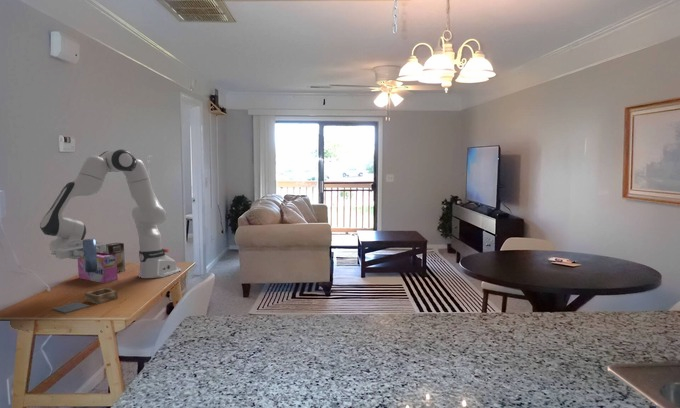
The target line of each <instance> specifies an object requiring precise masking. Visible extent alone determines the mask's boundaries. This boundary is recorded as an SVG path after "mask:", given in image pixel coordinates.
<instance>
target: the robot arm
mask: <svg viewBox="0 0 680 408" xmlns="http://www.w3.org/2000/svg"><path fill="white" fill-rule="evenodd" d="M109 172H111V173H113V172H115V173H116V172H117V173H119V172H122V173H123V174H124V176H125V179H126V182H127V186H128V190H129V193H130V195H131V197H132V199H133V200H134V201H135V203H136V205H135V206H134V207H133V208H132V209H131V217H132V219H133V221H134V224H135V226H136V231H137V234H138V244H139V250H138V257H139V270H138V271H139V272H138V276H139V277H138V276H137V277H138V278H140V277H141V278H140V279H155V278H157V279H158V278H165V277H169V276H171V275H173V274H177V273H180V272H182V269H181V267H178V265H177V263H176V260H175V259H174V258H171V257H170V256H169V255H166V253H169V251H170V250H169V248H163V246H162V245H163V244H162V234H161V232H160V229H159V228H158V225H162V224H163V223H165V222H166V219H167V215H168V214H167V212H166V209H164V208H163V206H162V204H161V203H160V201H159V199H158V197H157V195H156V194H155V191H154V187H153V185H152V182H151V181H152V180H151V178H150V175H149V173H148V169H147V168H146V165H145V164H144V162H143V160H141V159H139V158H135V156H134V155H133V154H132V153H131V152H130V151H128V150H126V149H122V148H121V149H112V150H107V151H104V152H102V153H101V154H100V155H90V156H88V157H87V158H86V159H85V161H84V162H83V164H82V166H81V168H80V170H79V173H78V174H77V176H76V178H75V179H74V180H73V181H70V182H68V183H66V184H65V186H63V188H62V190H61V191H60V193H59V194H58V196H57V197H56V198H55V201H54V202H53V204H52V206H51V207H50V209H48V211H47V212H46V214H45V215H44V216H43V218H42V219H41V221H40V222H39V227H40V228H39V229H40V230H41V232H42V233H43V234H44V235H46V236H51V237H55V238H53V239H52V240H51V241H50V242H49V245H48V246H49V250H50V254H51V255H55V258H57V259H60V260H63V259H71V260H78V258H80V257H83V256H84V255H85V252H84V251H83V240H85V237H86V234H87V228H86V225H85V223H84V221H82V220H78V219H76V218H75V219H74V218H72V217H67V216H64V215H62V213H63V212H64V211H65V209H66V207H67V205H68V204H69V202H70V201H71V199H73V198H75V197H84V196H85V197H86V196H87V197H88V196H92V195H95V194H97V193H99V192H100V190H101V188H102V187H103V183H104V182H105V178H106V176H107V174H108V173H109ZM96 250H97V253H99V252H100V253H103V252H104V251H106V243H104V242H103V241H97V240H96ZM179 271H180V272H179Z"/></svg>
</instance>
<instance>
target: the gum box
mask: <svg viewBox="0 0 680 408" xmlns="http://www.w3.org/2000/svg"><path fill="white" fill-rule="evenodd" d="M97 267H98V271H96V272H89V273H87V272H85V268H84V256H83V257H80V258H78V259H77V270H78V278H79V279H82V280H86V281H92V282H95V283H96V282H97V283H102V284H107V283H110V281H111V282H114V281H117V279H118V277H119V276H118V273H117V259H116V255H115V254H107V253H103V252H99V253H97ZM113 280H114V281H113ZM118 280H119V279H118Z"/></svg>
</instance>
